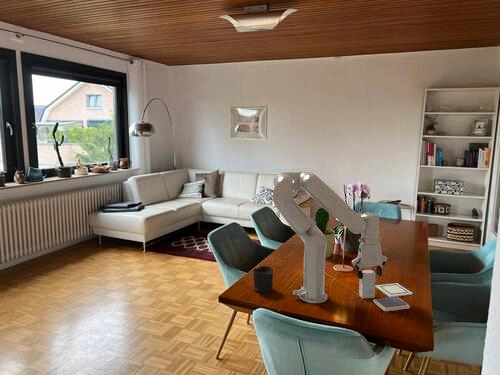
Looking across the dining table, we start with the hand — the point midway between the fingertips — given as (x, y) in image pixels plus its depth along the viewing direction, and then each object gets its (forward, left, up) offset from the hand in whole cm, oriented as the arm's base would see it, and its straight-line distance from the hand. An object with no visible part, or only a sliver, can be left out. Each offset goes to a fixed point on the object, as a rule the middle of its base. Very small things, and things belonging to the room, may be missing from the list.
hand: (369, 276), depth 172 cm
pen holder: (-45, +19, -10) cm, 50 cm away
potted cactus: (+3, +59, -10) cm, 60 cm away
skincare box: (-1, 0, -10) cm, 10 cm away
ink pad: (+5, -10, -10) cm, 15 cm away
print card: (+15, +3, -10) cm, 18 cm away
